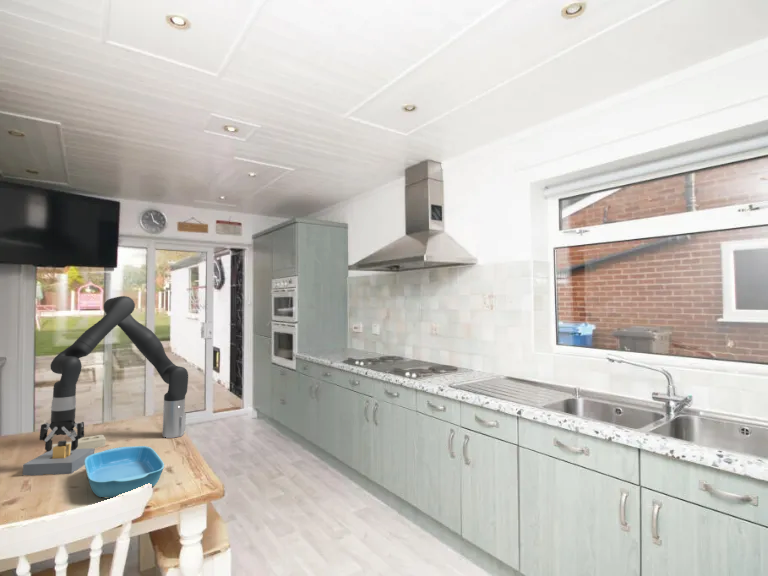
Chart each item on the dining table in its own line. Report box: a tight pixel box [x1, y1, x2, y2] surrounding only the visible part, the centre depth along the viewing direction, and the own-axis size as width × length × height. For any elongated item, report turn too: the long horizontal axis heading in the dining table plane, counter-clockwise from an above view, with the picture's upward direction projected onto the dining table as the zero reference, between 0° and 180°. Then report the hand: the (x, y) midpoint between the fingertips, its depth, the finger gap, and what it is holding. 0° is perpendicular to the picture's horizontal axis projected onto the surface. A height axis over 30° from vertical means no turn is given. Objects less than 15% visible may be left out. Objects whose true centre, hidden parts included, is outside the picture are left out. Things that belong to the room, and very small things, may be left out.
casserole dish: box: [84, 445, 165, 499], centre depth 148 cm, size 37×22×7 cm, turn 40°
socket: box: [22, 448, 96, 476], centre depth 160 cm, size 16×16×4 cm
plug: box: [52, 440, 71, 459], centre depth 160 cm, size 4×4×8 cm
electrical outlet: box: [52, 434, 106, 450], centre depth 180 cm, size 7×4×18 cm
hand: (61, 450), depth 160 cm, fingers open, 8 cm apart
